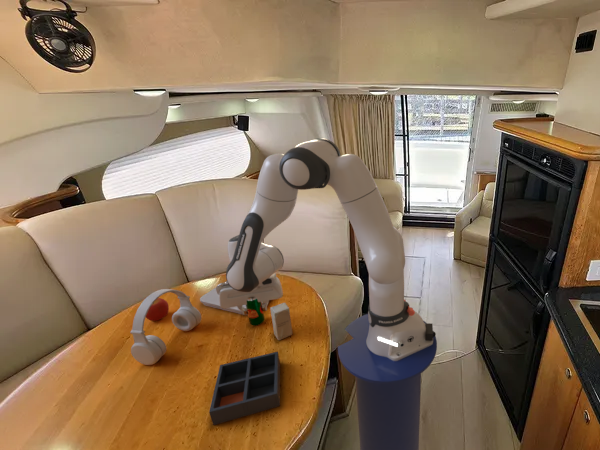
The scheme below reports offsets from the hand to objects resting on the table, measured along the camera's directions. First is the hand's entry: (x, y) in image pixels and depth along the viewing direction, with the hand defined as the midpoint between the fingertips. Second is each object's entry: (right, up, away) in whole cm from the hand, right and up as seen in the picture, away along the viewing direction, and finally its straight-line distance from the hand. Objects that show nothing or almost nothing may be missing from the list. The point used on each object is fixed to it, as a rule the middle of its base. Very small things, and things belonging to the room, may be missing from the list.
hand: (255, 311), depth 112 cm
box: (+12, -7, -4) cm, 14 cm away
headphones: (-24, -8, -8) cm, 27 cm away
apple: (-38, -4, +4) cm, 38 cm away
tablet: (-14, +1, +15) cm, 20 cm away
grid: (+10, -15, -26) cm, 31 cm away
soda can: (0, -4, +2) cm, 5 cm away
